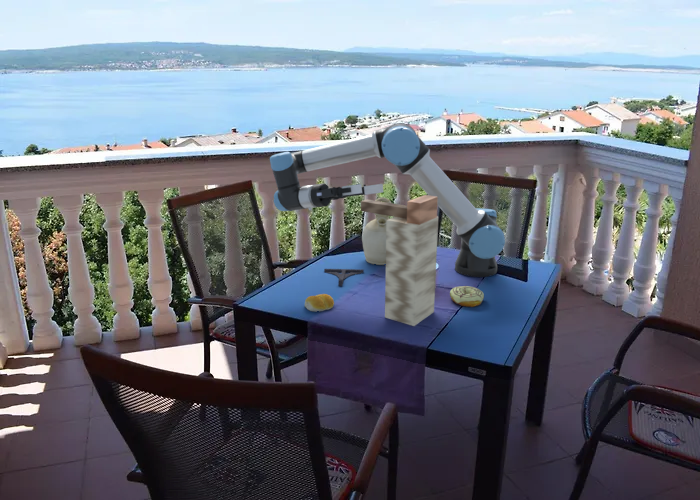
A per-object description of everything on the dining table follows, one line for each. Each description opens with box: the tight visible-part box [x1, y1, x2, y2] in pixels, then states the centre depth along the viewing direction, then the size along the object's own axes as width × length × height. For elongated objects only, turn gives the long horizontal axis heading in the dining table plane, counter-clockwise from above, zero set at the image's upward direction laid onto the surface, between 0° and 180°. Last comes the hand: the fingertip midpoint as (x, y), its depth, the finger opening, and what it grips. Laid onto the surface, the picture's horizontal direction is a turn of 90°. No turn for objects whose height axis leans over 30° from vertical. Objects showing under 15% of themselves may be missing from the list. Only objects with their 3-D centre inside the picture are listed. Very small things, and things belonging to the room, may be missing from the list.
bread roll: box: [304, 293, 335, 312], centre depth 171 cm, size 8×9×4 cm
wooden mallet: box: [360, 194, 438, 225], centre depth 159 cm, size 22×10×6 cm, turn 54°
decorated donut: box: [449, 285, 485, 308], centre depth 175 cm, size 10×11×4 cm
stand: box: [384, 215, 439, 327], centre depth 161 cm, size 10×12×30 cm
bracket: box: [323, 268, 365, 287], centre depth 195 cm, size 14×15×3 cm
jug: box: [361, 196, 392, 266], centre depth 210 cm, size 15×16×25 cm
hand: (372, 188), depth 169 cm, fingers open, 13 cm apart
